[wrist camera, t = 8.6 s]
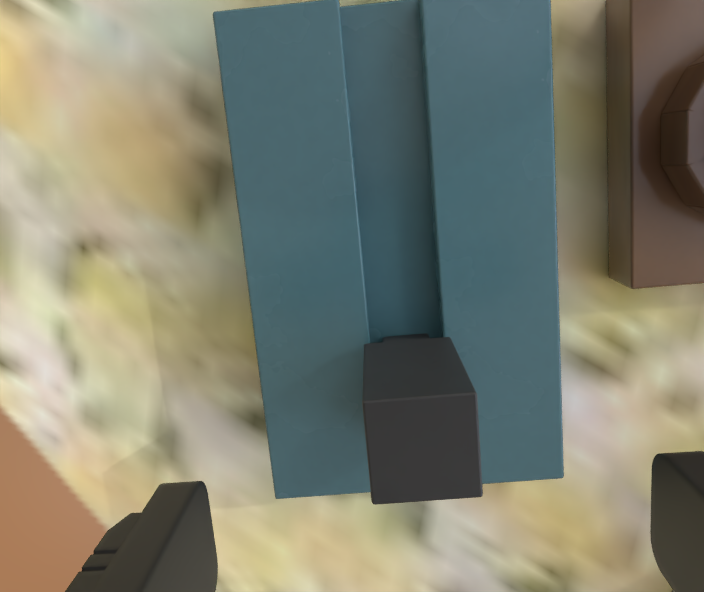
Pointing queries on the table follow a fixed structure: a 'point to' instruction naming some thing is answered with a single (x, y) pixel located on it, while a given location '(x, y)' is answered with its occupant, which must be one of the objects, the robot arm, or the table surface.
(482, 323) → the control base
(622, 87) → the panel
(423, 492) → the slider
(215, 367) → the table surface
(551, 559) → the table surface
